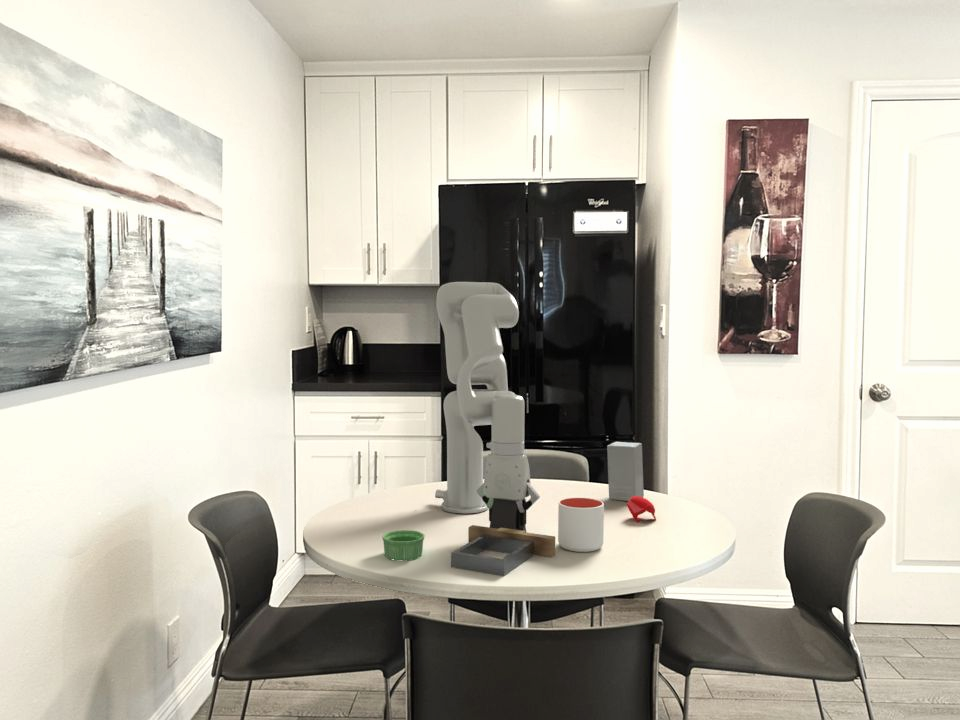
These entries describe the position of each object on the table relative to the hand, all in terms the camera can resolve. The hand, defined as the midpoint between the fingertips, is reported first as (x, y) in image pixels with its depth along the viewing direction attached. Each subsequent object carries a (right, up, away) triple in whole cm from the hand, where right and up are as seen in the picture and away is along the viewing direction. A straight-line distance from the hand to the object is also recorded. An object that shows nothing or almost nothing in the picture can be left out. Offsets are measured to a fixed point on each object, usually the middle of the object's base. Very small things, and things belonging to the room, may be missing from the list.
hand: (507, 525), depth 182 cm
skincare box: (+34, -1, +40) cm, 53 cm away
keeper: (-3, -4, -16) cm, 17 cm away
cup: (+16, -4, -6) cm, 17 cm away
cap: (+34, -2, +18) cm, 39 cm away
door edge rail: (+1, -4, -8) cm, 9 cm away
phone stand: (0, -3, 0) cm, 3 cm away
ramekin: (-23, -4, -12) cm, 26 cm away
